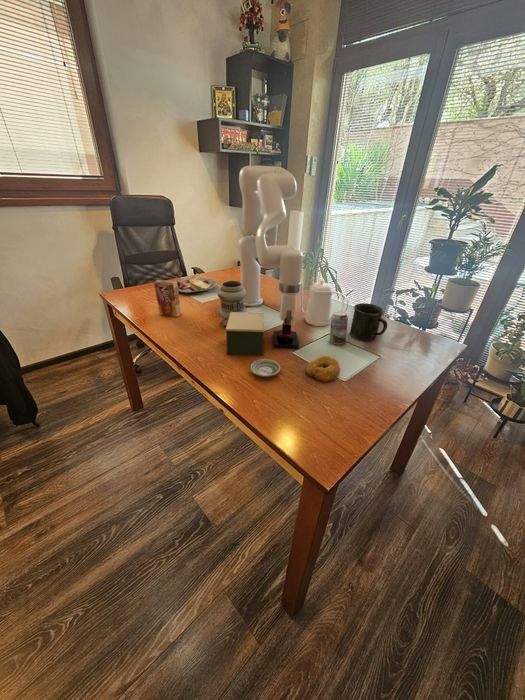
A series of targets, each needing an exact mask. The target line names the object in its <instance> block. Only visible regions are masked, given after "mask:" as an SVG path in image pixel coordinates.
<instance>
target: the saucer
mask: <svg viewBox="0 0 525 700" xmlns="http://www.w3.org/2000/svg"><path fill="white" fill-rule="evenodd" d="M250 371H251V372H252V373H253V374H254V375H256V376H258V377H261V378H272V377H274V376H276V375H278V374H279V373H280V371H281V365H280V364H279V363H278V362H277V361H275V360H273V359H268V358H266V359H265V358H261V359H258V360H257V359H256V360H254V361H253V362H252V363H251V364H250Z"/></svg>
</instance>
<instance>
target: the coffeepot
mask: <svg viewBox="0 0 525 700" xmlns="http://www.w3.org/2000/svg"><path fill="white" fill-rule="evenodd" d="M333 294H336V295H338V296H339V298H340V299H341V301H342V308H341V311H340V312H343V311H344V312H346V311H347V310H348V307H349V299H348V297H347V296H346V295H345V294H344V293H342V292H340V291H334V290H333V287H332V285H331V284H329V283H328V282H326V280H325V279H320V280H319V281H318V282H317V281H316V282H313V283H312V284H311V286H310V287H309V294H308V298H307V299H308V300H307V305H306V310H304V301H303V300H304V284H303V283H302V282H301V285H300V310H301V312H302V313H303V315H304V320H305V322H306V323H307V324H308V325H310V326H313V327H324V326H327V325H329V324H330V323H331V310H332V309H331V308H332V296H333ZM343 297H344V298H343ZM344 299H345V300H344ZM345 301H346V308H345V310H344V307H345Z"/></svg>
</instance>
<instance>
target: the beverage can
mask: <svg viewBox="0 0 525 700" xmlns="http://www.w3.org/2000/svg"><path fill="white" fill-rule="evenodd" d="M330 318H331V319H330V331H329V342H331V344H334V345H343V344H344V343H347V332H348V324H349V323H348V322H349V316H348V314H347V312H345V311H342V312H341V311H336V312H333V313H332V315H331V316H330Z"/></svg>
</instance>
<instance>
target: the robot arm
mask: <svg viewBox="0 0 525 700" xmlns="http://www.w3.org/2000/svg"><path fill="white" fill-rule="evenodd" d="M238 183H239V189H240V192H241V196H242V207H241V208H242V210H241V211H242V212H241V213H242V214H241V226H242V231H243V232H244V233H245V234H249V235H247V236H243V237H240V239H239V240H238V242H237V248H238V255H239V263H240V264H239V265H240V266H239V267H240V282H241V283H242V287H243V288H244V289H245V290H246V296H245V298H244V307H257V306H260V305H262V304H263V303H264V299H263V298H262V297H261V267H262V268H264V269H277V268H278V269H279V276H278V292H279V293H280V304H279V319H280V320H281V321H282V326H281V330H282V334H289V335H290V334H291V331H292V321H294V320H295V315H296V305H297V295H298V294H299V293H301V283H302V271H303V262H304V254H303V252H302V251H301V250H299V249H297V248H296V247H295V246H294V245H292V244H282V245H281V244H280V245H278V244H277V239H278V230H279V229H278V228H279V225H280V224H282V223H283V222H284V221H285V220H286V218H287V211H286V205H285V201H286V200H287V201H289V200H290V201H291V200H292V199H294V198H295V197H296V195H297V190H298V186H297V180H296V178H295V176H294V175H293V174H292V173H291V172H290V171H288V170H287V169H285V168H284V167H281V166H273V165H246V166H243V167H242V168H241V169H240V171H239V175H238ZM256 259H258V261H257V260H256Z"/></svg>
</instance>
